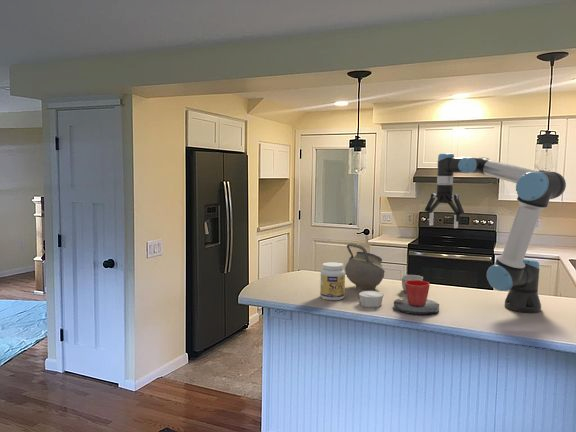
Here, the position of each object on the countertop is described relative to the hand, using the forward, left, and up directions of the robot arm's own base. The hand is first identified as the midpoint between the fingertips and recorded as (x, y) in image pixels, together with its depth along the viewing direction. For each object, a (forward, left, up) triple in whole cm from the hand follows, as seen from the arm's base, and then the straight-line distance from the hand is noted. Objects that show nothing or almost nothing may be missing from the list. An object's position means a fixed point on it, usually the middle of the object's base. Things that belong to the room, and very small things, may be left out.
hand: (443, 226), depth 237 cm
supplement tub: (+32, +47, -35) cm, 67 cm away
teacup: (+13, +7, -35) cm, 38 cm away
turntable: (-6, +32, -35) cm, 48 cm away
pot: (+32, +22, -35) cm, 52 cm away
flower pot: (-6, +32, -32) cm, 46 cm away
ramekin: (+12, +42, -35) cm, 56 cm away
